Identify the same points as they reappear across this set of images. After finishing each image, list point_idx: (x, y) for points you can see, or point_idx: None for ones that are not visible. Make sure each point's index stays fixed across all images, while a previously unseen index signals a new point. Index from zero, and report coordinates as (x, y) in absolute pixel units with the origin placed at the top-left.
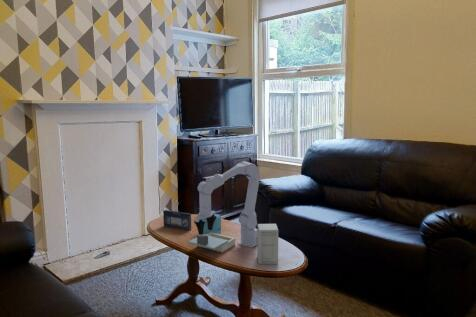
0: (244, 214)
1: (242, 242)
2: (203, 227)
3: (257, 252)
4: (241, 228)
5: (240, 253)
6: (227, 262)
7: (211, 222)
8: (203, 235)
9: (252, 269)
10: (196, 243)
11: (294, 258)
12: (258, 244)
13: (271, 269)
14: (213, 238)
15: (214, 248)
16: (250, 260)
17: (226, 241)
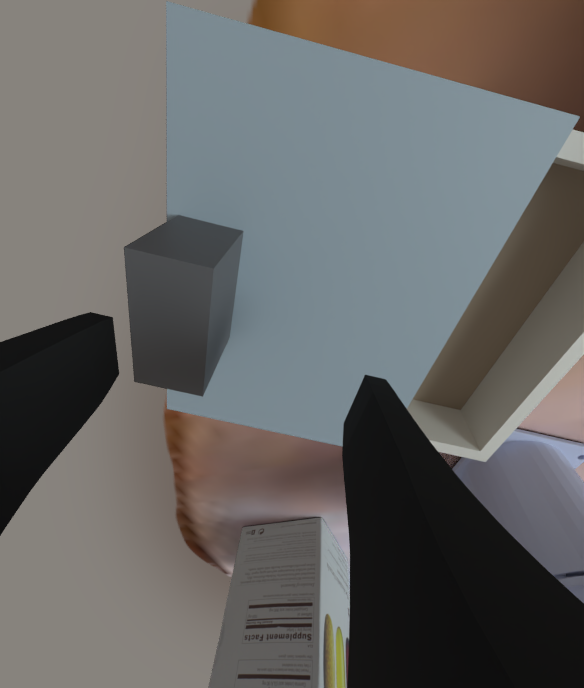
0: None
1: (482, 463)
2: (8, 507)
3: (296, 551)
4: (560, 573)
5: (332, 459)
6: (185, 432)
7: (361, 575)
8: (192, 337)
9: (182, 516)
10: (170, 208)
11: None
12: (238, 634)
13: (220, 554)
14: (402, 335)
15: (176, 407)
16: (263, 502)
17: None
